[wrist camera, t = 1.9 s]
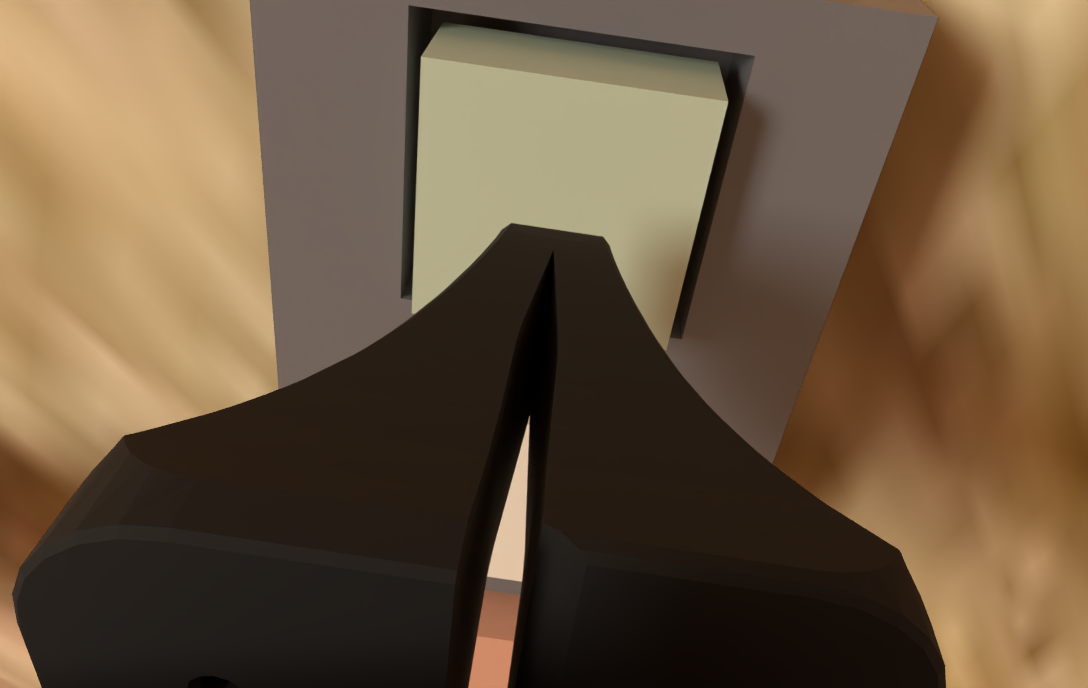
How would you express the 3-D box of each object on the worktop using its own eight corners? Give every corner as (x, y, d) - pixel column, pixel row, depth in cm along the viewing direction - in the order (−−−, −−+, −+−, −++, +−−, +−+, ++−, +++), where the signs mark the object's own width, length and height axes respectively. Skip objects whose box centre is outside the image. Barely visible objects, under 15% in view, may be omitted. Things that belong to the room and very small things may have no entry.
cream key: (419, 503, 20) (402, 564, 19) (426, 350, 18) (408, 407, 16) (607, 530, 20) (606, 593, 19) (642, 382, 18) (644, 441, 16)
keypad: (332, 617, 26) (302, 708, 24) (307, -116, 15) (243, -85, 12) (659, 664, 26) (661, 760, 24) (887, -30, 15) (938, 17, 12)
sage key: (431, 260, 16) (411, 313, 15) (443, 21, 14) (421, 56, 12) (663, 294, 16) (666, 351, 15) (718, 61, 14) (728, 101, 12)
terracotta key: (410, 669, 24) (396, 731, 22) (416, 563, 21) (400, 624, 20) (569, 692, 24) (565, 755, 22) (593, 589, 21) (591, 652, 20)
